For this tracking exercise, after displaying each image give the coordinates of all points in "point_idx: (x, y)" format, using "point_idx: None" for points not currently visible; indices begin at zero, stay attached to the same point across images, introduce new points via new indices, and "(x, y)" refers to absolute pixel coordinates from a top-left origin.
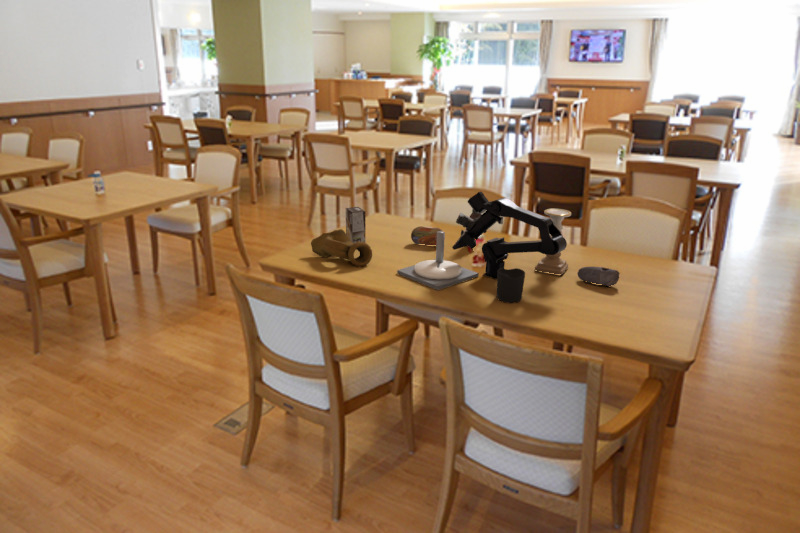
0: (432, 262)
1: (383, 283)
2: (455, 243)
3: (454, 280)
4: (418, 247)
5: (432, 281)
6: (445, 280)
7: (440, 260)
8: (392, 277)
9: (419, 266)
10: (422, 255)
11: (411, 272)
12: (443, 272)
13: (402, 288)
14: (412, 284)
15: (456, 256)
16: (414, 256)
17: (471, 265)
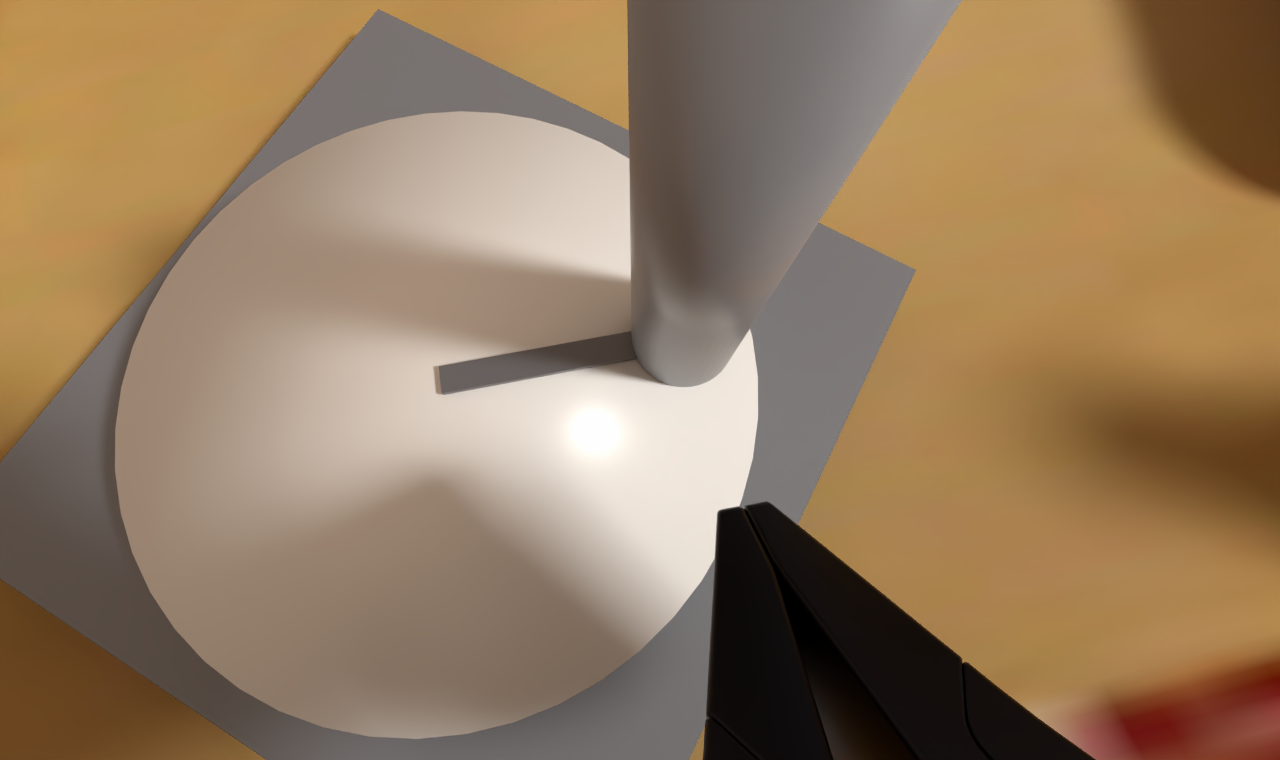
0: (611, 264)
1: (116, 14)
2: (811, 589)
3: (190, 685)
4: (1225, 2)
5: (104, 425)
6: None
7: (639, 350)
8: (288, 34)
9: (406, 166)
10: (1014, 98)
11: None
12: (259, 503)
13: (11, 189)
14: (138, 241)
15: (1203, 435)
16: (942, 42)
17: None
